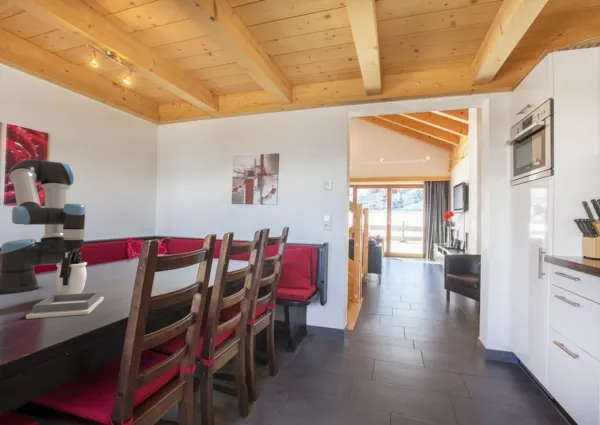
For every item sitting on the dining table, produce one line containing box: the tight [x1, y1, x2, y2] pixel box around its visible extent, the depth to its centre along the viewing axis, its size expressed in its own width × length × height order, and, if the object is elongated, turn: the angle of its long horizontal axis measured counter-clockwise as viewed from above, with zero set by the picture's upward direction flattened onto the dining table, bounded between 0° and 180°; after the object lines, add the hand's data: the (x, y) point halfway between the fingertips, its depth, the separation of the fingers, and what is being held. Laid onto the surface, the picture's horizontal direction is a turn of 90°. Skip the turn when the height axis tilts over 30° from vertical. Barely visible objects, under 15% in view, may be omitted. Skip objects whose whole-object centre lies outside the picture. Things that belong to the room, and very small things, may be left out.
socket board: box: [25, 292, 105, 320], centre depth 112 cm, size 20×18×4 cm
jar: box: [55, 261, 88, 295], centre depth 126 cm, size 11×10×15 cm
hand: (70, 289), depth 126 cm, fingers closed on jar, 10 cm apart
